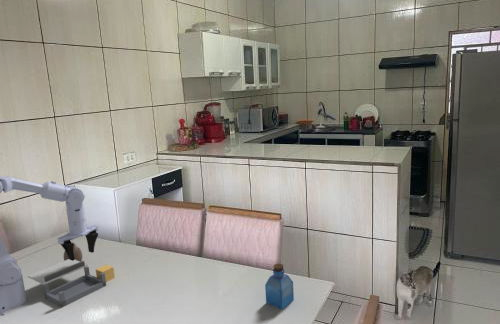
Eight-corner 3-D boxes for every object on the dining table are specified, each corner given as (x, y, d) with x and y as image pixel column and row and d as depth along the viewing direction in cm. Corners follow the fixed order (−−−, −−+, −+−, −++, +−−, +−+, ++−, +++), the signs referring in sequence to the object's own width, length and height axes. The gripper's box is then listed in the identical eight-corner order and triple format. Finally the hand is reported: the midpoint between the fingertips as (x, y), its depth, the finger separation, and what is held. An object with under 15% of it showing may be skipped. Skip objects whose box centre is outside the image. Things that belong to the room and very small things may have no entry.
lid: (43, 284, 129) (42, 278, 129) (27, 277, 135) (26, 271, 135) (87, 265, 142) (86, 260, 141) (71, 259, 148) (70, 254, 148)
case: (62, 309, 124) (60, 293, 123) (45, 300, 130) (42, 285, 129) (106, 287, 137) (104, 273, 136) (88, 280, 143) (86, 266, 142)
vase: (61, 266, 156) (58, 246, 155) (75, 259, 162) (72, 239, 161) (72, 269, 153) (69, 248, 152) (87, 262, 159) (84, 242, 157)
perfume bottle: (277, 294, 126) (276, 259, 123) (293, 300, 122) (292, 264, 120) (266, 303, 121) (264, 267, 119) (282, 309, 117) (280, 272, 115)
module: (104, 284, 139) (102, 272, 138) (97, 280, 141) (95, 269, 140) (114, 278, 142) (113, 267, 141) (107, 276, 145) (106, 264, 144)
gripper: (63, 228, 130) (68, 266, 133) (101, 215, 142) (105, 250, 144) (52, 225, 134) (58, 261, 137) (90, 213, 146) (95, 247, 148)
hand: (81, 255), depth 141 cm, fingers open, 7 cm apart
